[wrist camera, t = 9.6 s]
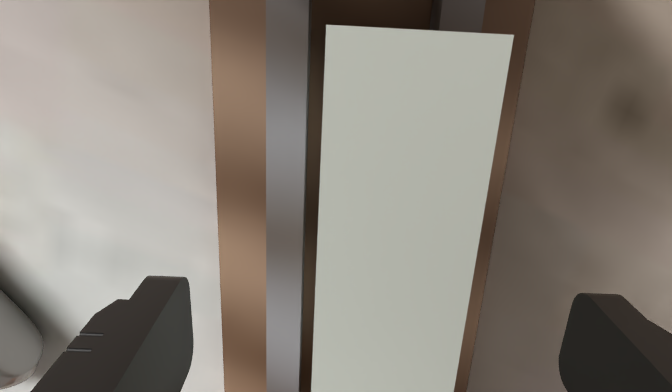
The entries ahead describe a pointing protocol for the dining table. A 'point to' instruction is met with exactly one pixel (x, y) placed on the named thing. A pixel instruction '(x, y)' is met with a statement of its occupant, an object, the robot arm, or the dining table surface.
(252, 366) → the cabinet base
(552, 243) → the dining table surface
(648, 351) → the robot arm
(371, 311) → the door panel
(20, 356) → the emblem
